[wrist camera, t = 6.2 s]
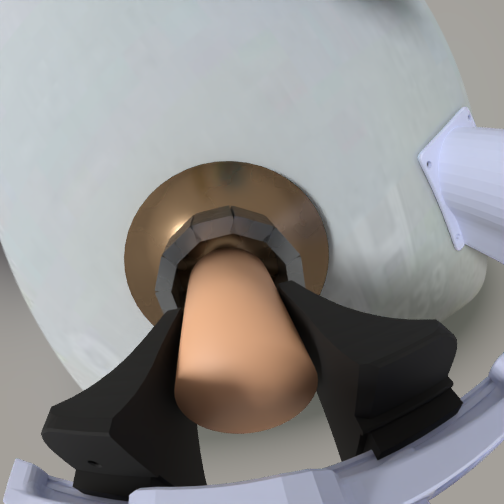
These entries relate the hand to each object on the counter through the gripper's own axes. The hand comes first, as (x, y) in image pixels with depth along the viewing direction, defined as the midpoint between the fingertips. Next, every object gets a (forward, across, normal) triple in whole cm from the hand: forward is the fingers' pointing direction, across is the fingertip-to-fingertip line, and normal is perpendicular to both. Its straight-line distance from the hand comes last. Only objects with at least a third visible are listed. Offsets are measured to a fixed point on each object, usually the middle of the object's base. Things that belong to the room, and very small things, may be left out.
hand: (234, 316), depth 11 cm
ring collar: (+5, 0, 0) cm, 5 cm away
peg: (+2, 0, 0) cm, 3 cm away
